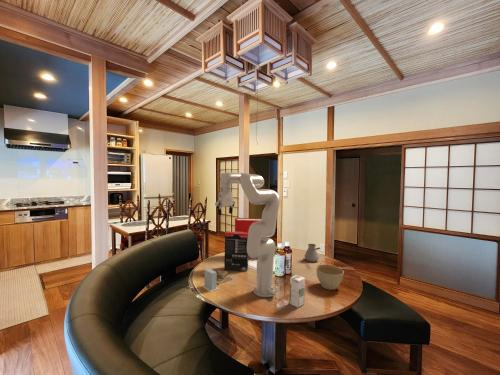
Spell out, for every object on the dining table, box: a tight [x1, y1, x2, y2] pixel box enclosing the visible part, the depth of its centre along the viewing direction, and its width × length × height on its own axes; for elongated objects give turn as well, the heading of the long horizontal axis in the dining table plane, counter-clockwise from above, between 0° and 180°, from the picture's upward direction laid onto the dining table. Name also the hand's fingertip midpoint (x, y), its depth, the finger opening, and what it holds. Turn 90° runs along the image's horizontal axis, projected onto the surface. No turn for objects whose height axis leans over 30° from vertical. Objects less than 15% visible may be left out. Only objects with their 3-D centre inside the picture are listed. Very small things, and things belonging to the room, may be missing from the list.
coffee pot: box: [304, 243, 321, 263], centre depth 184 cm, size 21×12×15 cm, turn 8°
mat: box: [201, 284, 219, 293], centre depth 139 cm, size 9×6×1 cm, turn 42°
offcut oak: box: [216, 274, 230, 282], centre depth 150 cm, size 4×8×2 cm, turn 132°
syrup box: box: [288, 274, 306, 308], centre depth 122 cm, size 6×6×14 cm
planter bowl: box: [315, 264, 345, 291], centre depth 143 cm, size 16×16×11 cm
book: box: [234, 217, 269, 259], centre depth 194 cm, size 27×8×32 cm, turn 88°
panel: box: [204, 267, 218, 291], centre depth 138 cm, size 8×3×10 cm, turn 42°
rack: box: [202, 268, 233, 285], centre depth 153 cm, size 18×11×2 cm, turn 42°
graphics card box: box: [223, 230, 249, 272], centre depth 167 cm, size 17×7×27 cm, turn 85°
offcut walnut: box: [217, 270, 229, 279], centre depth 150 cm, size 4×6×2 cm, turn 157°
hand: (225, 214), depth 165 cm, fingers open, 9 cm apart
